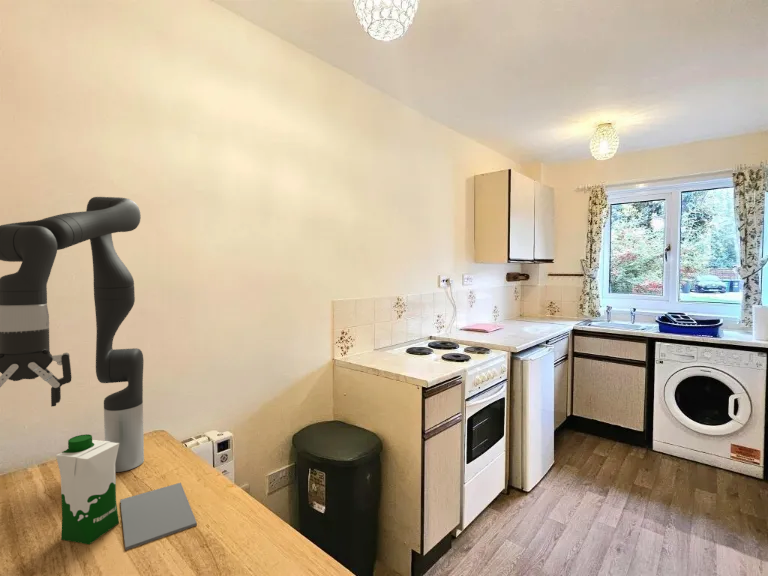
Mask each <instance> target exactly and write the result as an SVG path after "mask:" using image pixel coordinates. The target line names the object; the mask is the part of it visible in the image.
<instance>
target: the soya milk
mask: <svg viewBox="0 0 768 576" xmlns="http://www.w3.org/2000/svg"><path fill="white" fill-rule="evenodd" d="M67 446H68V448H67V449H65V450H63V451H61V452H59V453H58V454H57V453H56V455H55V457H56V462H57V466H58V469H59V474H60V486H61V487H60V490H61V493H60V494H61V533H60V534H61V537H60V540H62V541H68V542H72V543H79V544H85V545H91V544H92V543H94V542H95V541H97V540H98V539H99V538H101V537H102V536H104V535H105V534H106V533H107V532H109V531H110V530H112V529H113V528H114V527H116V526H117V525H118V524H120V520H119V513H118V506H117V485H116V484H117V482H116V478H117V477H116V472H115V462H116V457H117V452H118V448H119V443H113V442H110V441H105V440H96V439H93V435H92V434H80V435H75V436H73V437H71V438H69V439H68V440H67Z"/></svg>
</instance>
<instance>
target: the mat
mask: <svg viewBox="0 0 768 576" xmlns="http://www.w3.org/2000/svg"><path fill="white" fill-rule="evenodd" d="M119 500H120V502H119V503H121V504H120V512H121V519H122V531H123V542H124V550H125V551H127V550H131V549H133V548H136V547H139V546H142V545H144V544H148V543H151V542H153V541H156V540H159V539H162V538H164V537H165V538H166V537H168V536H170V535H173V534H175V533H176V534H177V533H178V532H182V531H184V530H185V531H186V530H188V529H190V528H193V527H196V526H198V524H197V522H198V521H197V520H196V518H195V515H194V513H193V510H192V507H191V505H190V502H189V499H188V497H187V495H186V493H185V490H184V487H183V485H182V482H178V483H175V484H171V485H167V486H163V487H160V488H157V489H153V490H150V491H147V492H143V493H139V494H136V495H132V496H129V497H125V498H122V499H119Z"/></svg>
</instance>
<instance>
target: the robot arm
mask: <svg viewBox="0 0 768 576" xmlns="http://www.w3.org/2000/svg"><path fill="white" fill-rule="evenodd" d="M140 223H141V211H140V207H139V205H138V204H137V203H136V202H135V201H134V200H132V199H130V198H125V197H115V196H113V197H112V196H94V197H91V198H90V199H89V201H88V202H87V205H86V209H85V211H76V212H75V211H74V212H66V213H60V214H57V215H53V216H49V217H45V218H42V219H38V220H29V221H23V222H21V221H20V222H13V223H6V224H1V225H0V261H2V262H9V263H12V262H13V263H14V262H17V263H18V262H19V263H20V262H21V264H20V266H19V268H18V270H17V271H16V272H14V273H9V274H6V275H2V276H1V277H0V373H1V375H0V388H1V387H3V386H4V384H5V383H6V382H7V381H8V380H9V381H13V382H18V381H22V380H35V379H37V378H38V377H40V378H41V379H42V380H43V381H44V382H46V383H47V384H49V385H50V386H51V389H50V406H51V407H52V408H53V407H56V406H57V404H59V403H60V401H61V399H62V398H61V395H62V394H61V391H62V390H61V387H62V386H64V385H66V384H70V383H71V382H72V379H73V378H72V368H71V367H72V366H71V359H70V357H71V356H70V353H68V352H64V353H61V354H55V355H52V354H51V351H50V349H51V348H50V314H49V309H48V291H47V289H48V286H47V285H48V280H49V279H50V275H51V272H52V270H53V266H54V263H55V260H56V256H57V253H58V251H59V250H65V249H67V248H69V247H72V246H75V245H77V244H80V243H83V242H85V241H88V240H89V243H90V248H91V259H92V272H93V301H94V309H95V310H94V311H95V323H96V325H95V326H96V337H95V339H96V341H95V374H96V379H97V380H98V381H99V383H100V384H113V383H124V382H125V383H126V382H127V383H128V384H127V386H126V387H124V388H123V389H121V390H119V391H116V392H113V393H110V394H109V395H107V396H106V397H105V398H104V400H103V423H104V424H103V425H104V426H103V427H104V429H103V430H104V441H110V442H113V443H119V448H118V452H117V457H116V462H115V473H120V472H121V473H122V472H126V471H129V470H133V469H135V468H137V467H140V465H142V464H143V463H144V461H145V453H144V451H145V449H144V446H145V444H144V443H145V442H144V439H145V438H144V398H143V396H144V394H143V393H144V388H143V387H144V385H143V384H144V383H143V381H144V380H143V379H144V354H143V351H142V350H141V349H140V348H138V347H137V348H135V347H134V348H116V349H113V344H114V343H113V342H114V338H115V335H116V333H117V331H118V330H119V328H120V326H121V325H122V323H123V322H124V321H125V320H126V318H127V316H128V315H129V313H130V312H131V310H132V309H133V307H134V305H135V301H136V300H135V299H136V296H135V281H134V278H133V275H132V273H131V271H130V270H129V269H128V267H127V266H126V264H125V263H124V262H123V260H121V258H120V256H119V255H118V253H117V251H116V249H115V247H114V241H113V236H112V234H115V233H128V232H132V231H134V230H136V229H137V228H138V227H139V225H140ZM52 362H56V364H57V365H58V366H62V368H61V370H62V377H59V378H58V377H57V376H56V375H54V374H53V373H52V372H51V370H50V369H48V367H49V366H50V365H51V364H52Z"/></svg>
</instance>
